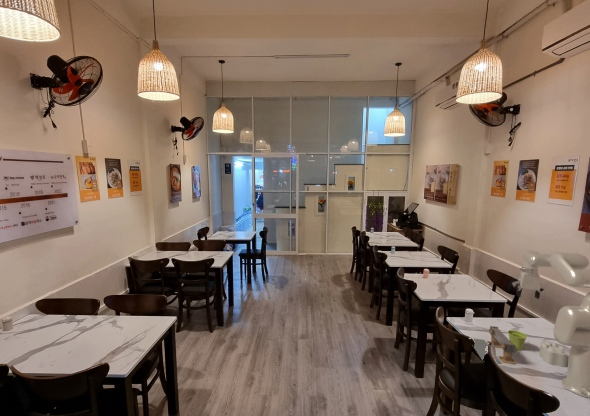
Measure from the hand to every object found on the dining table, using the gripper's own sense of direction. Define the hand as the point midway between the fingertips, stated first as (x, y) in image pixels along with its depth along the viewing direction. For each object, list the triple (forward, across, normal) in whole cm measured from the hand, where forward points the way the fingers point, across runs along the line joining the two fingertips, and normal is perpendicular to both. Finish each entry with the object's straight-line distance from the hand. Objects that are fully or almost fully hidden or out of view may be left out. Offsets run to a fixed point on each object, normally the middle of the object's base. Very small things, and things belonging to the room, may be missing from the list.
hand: (527, 297), depth 175 cm
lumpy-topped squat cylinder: (+30, +6, -16) cm, 35 cm away
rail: (+22, -20, -18) cm, 35 cm away
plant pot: (+30, -8, -9) cm, 32 cm away
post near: (+30, -20, -26) cm, 44 cm away
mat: (+29, -29, -18) cm, 45 cm away
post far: (+29, -20, -10) cm, 37 cm away
